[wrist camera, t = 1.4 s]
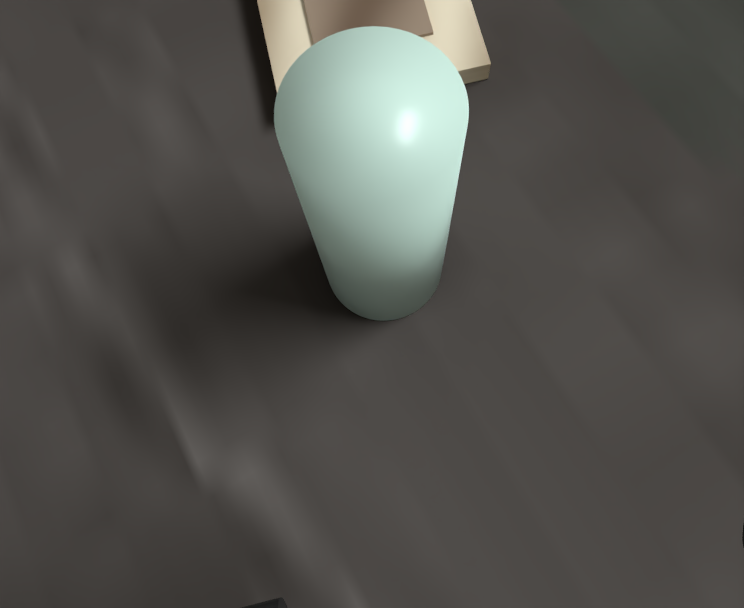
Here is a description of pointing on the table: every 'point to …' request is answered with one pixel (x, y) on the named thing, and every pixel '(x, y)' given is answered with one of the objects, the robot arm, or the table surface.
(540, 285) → the table surface
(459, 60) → the board
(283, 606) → the robot arm
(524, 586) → the table surface
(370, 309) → the tube
